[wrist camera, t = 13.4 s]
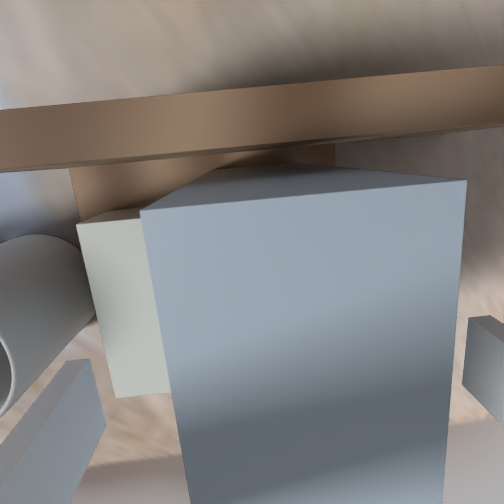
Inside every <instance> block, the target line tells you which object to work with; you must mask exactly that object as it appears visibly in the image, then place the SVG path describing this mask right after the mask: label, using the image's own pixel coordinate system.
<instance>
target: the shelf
mask: <svg viewBox="0 0 504 504" xmlns="http://www.w3.org/2000/svg"><path fill="white" fill-rule="evenodd" d="M495 127H504V65H493V66H482V67H470V68H459V69H448V70H437V71H426V72H415V73H404V74H393V75H382V76H371V77H360V78H349V79H338V80H327V81H316V82H305V83H294V84H282V85H271V86H260V87H249V88H238V89H227V90H216V91H205V92H194V93H183V94H172V95H161V96H150V97H139V98H128V99H117V100H105V101H94V102H83V103H72V104H61V105H50V106H39V107H28V108H17V109H6V110H0V173H4V172H18V171H33V170H48V169H62V168H69V172H70V176H71V181H72V185H73V190H74V194H75V198H76V203H77V207H78V212H79V216H80V220H81V222H83V221H86V220H88V219H90V218H93V217H95V216H97V215H100V214H102V213H104V212H107V211H111V210H121V209H132V208H142V207H147V206H149V205H151V204H152V203H154V202H156V201H158V200H159V199H161V198H163V197H165V196H167V195H168V194H170V193H172V192H174V191H176V190H177V189H179V188H181V187H183V186H184V185H186V184H188V183H190V182H192V181H193V180H195V179H197V178H199V177H201V176H202V175H204V174H206V173H208V172H209V171H211V170H218V169H229V168H240V167H251V166H262V165H273V164H284V163H304V164H314V165H323V166H333V167H335V143H345V142H356V141H367V140H377V139H388V138H399V137H409V136H420V135H431V134H441V133H451V132H460V131H469V130H478V129H487V128H495Z"/></svg>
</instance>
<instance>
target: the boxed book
mask: <svg viewBox="0 0 504 504" xmlns="http://www.w3.org/2000/svg"><path fill="white" fill-rule="evenodd" d="M466 190H467V180H462V179H452V178H442V177H432V176H422V175H412V174H402V173H393V172H383V171H373V170H363V169H353V168H343V167H333V166H323V165H314V164H304V163H284V164H273V165H262V166H251V167H240V168H229V169H218V170H211V171H209V172H208V173H206V174H204V175H202V176H201V177H199V178H197V179H195V180H193V181H192V182H190V183H188V184H186V185H184V186H183V187H181V188H179V189H177V190H176V191H174V192H172V193H170V194H168V195H167V196H165V197H163V198H161V199H159V200H158V201H156V202H154V203H152V204H151V205H149V206H147V207H145V208H143V209H142V210H140V217H141V223H142V228H143V234H144V240H145V246H146V251H147V257H148V263H149V268H150V274H151V280H152V285H153V291H154V297H155V302H156V308H157V314H158V320H159V325H160V331H161V337H162V342H163V348H164V354H165V359H166V365H167V371H168V376H169V382H170V388H171V393H172V399H173V405H174V411H175V416H176V422H177V428H178V433H179V439H180V445H181V450H182V456H183V462H184V467H185V473H186V479H187V484H188V490H189V496H190V501H191V504H442V499H443V486H444V474H445V460H446V447H447V435H448V422H449V409H450V396H451V383H452V371H453V358H454V345H455V332H456V319H457V306H458V293H459V280H460V267H461V254H462V242H463V229H464V216H465V203H466Z"/></svg>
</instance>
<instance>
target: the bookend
mask: <svg viewBox="0 0 504 504" xmlns="http://www.w3.org/2000/svg"><path fill="white" fill-rule="evenodd" d="M143 208H145V207H142V208H132V209H121V210H111V211H107V212H104V213H102V214H100V215H97V216H95V217H93V218H90V219H88V220H86V221H83V222H81V223H79V224H76V228H77V232H78V237H79V241H80V245H81V250H82V254H83V258H84V263H85V267H86V271H87V276H88V280H89V284H90V289H91V293H92V297H93V302H94V306H95V310H96V315H97V319H98V323H99V328H100V332H101V336H102V341H103V345H104V349H105V354H106V358H107V362H108V367H109V371H110V375H111V380H112V384H113V388H114V393H115V397H116V398H120V397H130V396H139V395H148V394H158V393H167V392H171V388H170V382H169V376H168V371H167V365H166V359H165V354H164V348H163V342H162V337H161V331H160V325H159V320H158V314H157V308H156V302H155V297H154V291H153V285H152V280H151V274H150V268H149V263H148V257H147V251H146V246H145V240H144V234H143V228H142V223H141V217H140V210H142V209H143Z"/></svg>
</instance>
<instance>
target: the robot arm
mask: <svg viewBox="0 0 504 504" xmlns="http://www.w3.org/2000/svg"><path fill="white" fill-rule="evenodd" d="M462 385H463V386H464V387H465V388H466V389H467V390H468V391H469V392H470V393H471V394H472V395H473V396H474V397H475V398H476V399H477V400H478V401H479V402H480V403H481V404H482V405H483V406H484V407H485V409H486V410H487V411H488V412H489V413H490V414H491V415H492V416H493V417H494V418H495V419H496V420H497V421H498V422H499V423H501V425H502V426H503V427H504V324H503V323H501V322H500V321H498V320H497V319H495V318H494V317H492V316H490V315H488V316H479V317H470V318H469V319H468V329H467V339H466V349H465V360H464V370H463V380H462ZM105 427H106V421H105V417H104V413H103V409H102V405H101V401H100V398H99V394H98V390H97V386H96V382H95V378H94V374H93V370H92V367H91V363H90V359H80V360H71V361H66V362H65V364H64V365H63V366H62V368H61V369H60V370H59V371H58V373H57V374H56V375H55V376H54V378H53V379H52V380H51V381H50V383H49V384H48V385H47V387H46V388H45V389H44V390H43V392H42V393H41V394H40V395H39V397H38V398H37V399H36V401H35V402H34V403H33V404H32V406H31V407H30V408H29V409H28V411H27V412H26V413H25V415H24V416H23V417H22V418H21V420H20V421H19V422H18V423H17V425H16V426H15V427H14V429H13V430H12V431H11V432H10V434H9V435H8V436H7V437H6V439H5V440H4V441H3V442H2V444H1V445H0V504H70V503H71V501H72V498H73V496H74V494H75V492H76V490H77V487H78V485H79V483H80V481H81V479H82V477H83V475H84V472H85V470H86V468H87V466H88V464H89V462H90V459H91V457H92V455H93V453H94V451H95V448H96V446H97V444H98V442H99V440H100V438H101V435H102V433H103V431H104V429H105Z"/></svg>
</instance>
